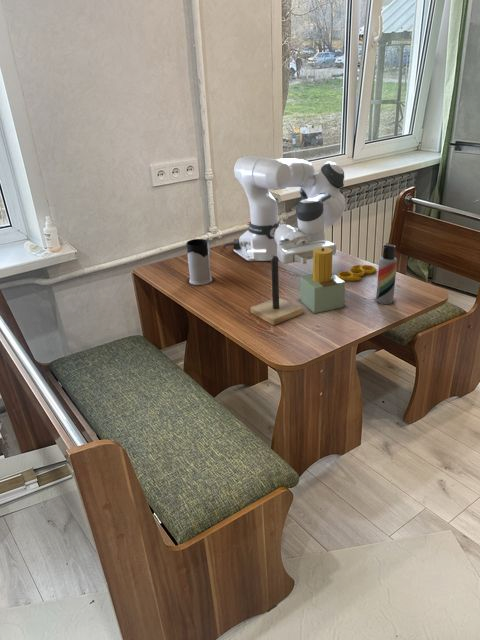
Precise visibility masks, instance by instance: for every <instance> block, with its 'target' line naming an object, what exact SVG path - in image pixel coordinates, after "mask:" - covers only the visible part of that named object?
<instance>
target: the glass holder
mask: <svg viewBox="0 0 480 640" xmlns="http://www.w3.org/2000/svg"><path fill="white" fill-rule="evenodd" d="M186 251H187V254H186V255H187V263H188V271H189V272H188V273H189V280H188V283H189V284H191V285H193V286H204V285H208V284H210V283H212V281H213V277H212V276H211V275H212V274H211V264H210V255H211V241H210V239H209V238H204V239H203V238H193V239H190V240H187V241H186Z"/></svg>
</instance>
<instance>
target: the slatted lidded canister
mask: <svg viewBox="0 0 480 640" xmlns="http://www.w3.org/2000/svg"><path fill="white" fill-rule="evenodd" d="M332 251H333V250H332V249H331V248H328V247H318V248H315V249H314V250H313V259H312V274H313V280H314V281H315V282H319V284H321V285H322V286H323V287H326V286H331V285H336V284H337V283H336V282H335V281H334V280H332V273H333V255H332V253H333V252H332Z"/></svg>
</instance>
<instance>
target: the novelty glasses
mask: <svg viewBox="0 0 480 640" xmlns="http://www.w3.org/2000/svg"><path fill="white" fill-rule="evenodd" d="M376 269H377V268H376V267H375V266H374V265H369V264H356V265H353V266H352V268H350V269H349V271H340V272H338V273H337V275H336V276H337V277H339V278H340V279H341V280H343V281H345V282H346V281H348V282H355V281H360V280H361V279H362V277H363V276H365V275H371V274H374V273H376Z"/></svg>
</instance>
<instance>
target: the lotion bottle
mask: <svg viewBox="0 0 480 640" xmlns="http://www.w3.org/2000/svg"><path fill="white" fill-rule="evenodd" d="M382 246H383V247H382V256H380V257H379V261H378V271H377V283H376V295H375V296H376V297H375V300H376V302H377V303H378V304H381V305H391V304H392V303H393V302H394V296H395V287H396V277H397V266H398V258H397V257H395V256H396V245H395V244H392V243H389V242H386V243H384V244H383V245H382Z"/></svg>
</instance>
